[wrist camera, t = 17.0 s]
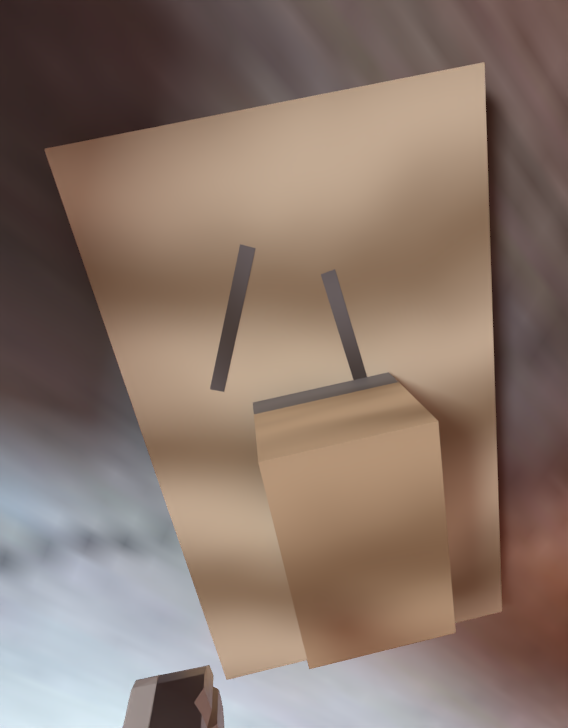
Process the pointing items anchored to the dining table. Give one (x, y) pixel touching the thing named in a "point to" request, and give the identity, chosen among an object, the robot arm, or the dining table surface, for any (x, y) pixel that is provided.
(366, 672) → the dining table surface
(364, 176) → the board
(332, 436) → the block
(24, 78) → the dining table surface
